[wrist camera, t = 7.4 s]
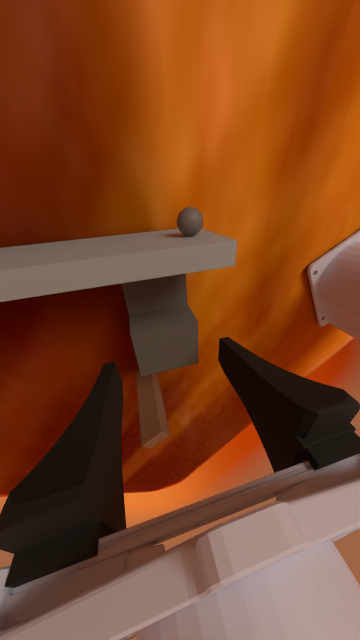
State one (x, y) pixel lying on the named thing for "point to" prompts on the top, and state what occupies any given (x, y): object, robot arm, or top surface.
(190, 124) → the top surface
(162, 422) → the gateposts
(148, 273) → the door
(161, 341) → the doorstop wedge
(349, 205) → the top surface
